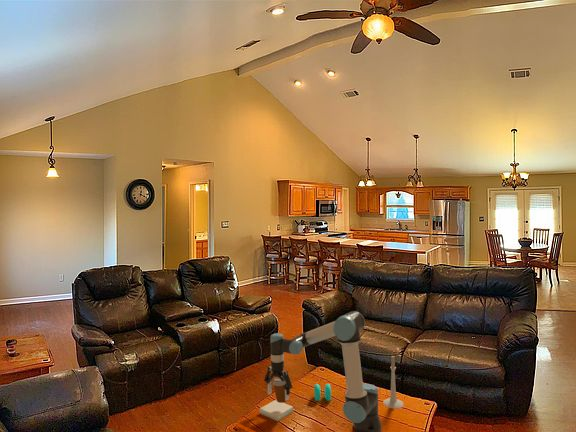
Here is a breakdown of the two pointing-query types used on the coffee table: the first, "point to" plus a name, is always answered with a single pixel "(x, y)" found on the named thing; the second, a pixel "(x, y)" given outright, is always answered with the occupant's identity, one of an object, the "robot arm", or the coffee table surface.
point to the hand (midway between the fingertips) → (278, 396)
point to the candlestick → (393, 390)
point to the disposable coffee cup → (279, 389)
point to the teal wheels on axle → (318, 392)
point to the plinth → (276, 410)
